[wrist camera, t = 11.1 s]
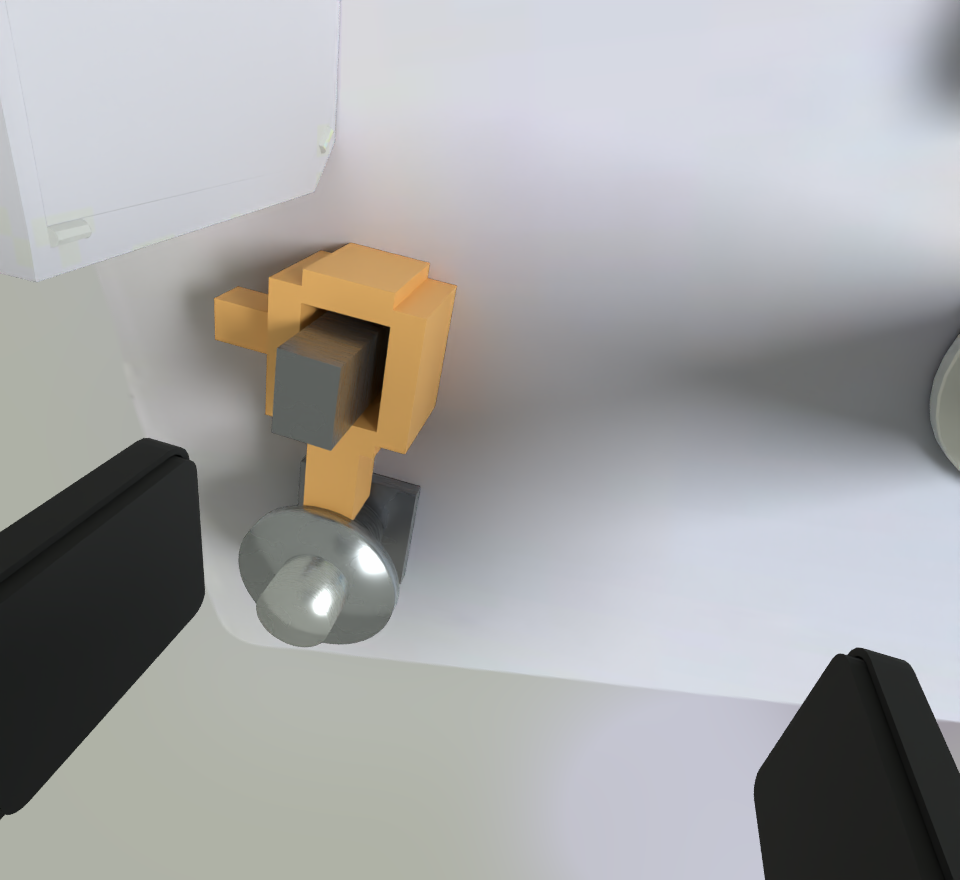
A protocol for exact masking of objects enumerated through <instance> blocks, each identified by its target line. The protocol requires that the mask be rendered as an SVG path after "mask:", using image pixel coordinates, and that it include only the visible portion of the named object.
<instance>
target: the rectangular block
mask: <svg viewBox="0 0 960 880" xmlns="http://www.w3.org/2000/svg"><path fill="white" fill-rule="evenodd" d="M389 334H390V327H389V326H385V325H381V324H378V323H374V322H370V321H366V320H363V319H359V318H355V317H352V316H348V315H344V314H340V313H337V312H333V311H327V312H326V313H325V314H323V315H322V316H320V317H319V318H318V319H316V320H315V321H314V322H312V323H311V324H309V325H308V326H307V327H305V328H304V329H302V330H301V331H300V332H298V333H297V334H296V335H294V336H293V337H291V338H290V339H289V340H287V341H286V342H285V343H283V344H282V345H280V346H279V347H278V348H277V353H276V368H275V384H274V399H273V415H272V430H271V432H272V433H275V434H279V435H282V436H285V437H288V438H291V439H294V440H298V441H301V442H304V443H307V444H310V445H314V446H317V447H320V448H323V449H326V450H329V451H331V450H332V449H333V448H334V446H335V445H336V444H337V443H338V442H339V441H340V439H341V438H342V437H343V436H344V435H345V433H346V432H347V431H348V430H349V429H350V427H351V426H352V425H353V424H354V423H355V421H356V420H357V419H358V418H359V417H360V415H361V414H362V413H363V412H364V411H365V410H366V408H367V407H368V406H369V405H370V404H371V402H372V401H373V400H374V399H375V398H376V396H377V395H378V394H379V393H380V392H381V390H382V388H383V380H384V373H385V365H386V357H387V350H388V342H389Z"/></svg>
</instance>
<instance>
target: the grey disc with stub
mask: <svg viewBox="0 0 960 880" xmlns="http://www.w3.org/2000/svg"><path fill="white" fill-rule="evenodd" d="M306 457H307V455H306V456H305V457H304V458H303V460H302V461H301V467H300V483H299V500H298V505H294V506H286V507H283V508H279V509H276V510H274V511H271V512H269V513H268V514H266V515H265V516H263V517H262V518H261V519H260V520H259V521H258V522H257V523H256V524H255V525H254V526H253V528H252V529H251V530H250V531H249V532H248V534H247V535H246V536H245V538H244V540H243V542H242V544H241V547H240V551H239V569H240V574H241V577H242V580H243V582H244V585H245V587H246V589H247V591H248V592H249V594H250V595H251V597H252V598H253V600H254V601H255V602H256V604H257V605H256V611H257V615H258V618H259V620H260V622H261V623H262V625H263V626H264V627H265V629H266V630H267V631H268V632H269V633H271V634H272V635H273V636H274V637H276V638H277V639H279V640H281V641H283V642H285V643H287V644H290V645H293V646H298V647H312V646H316V645H318V644H320V643H322V642H323V643H329V644H351V643H357V642H360V641H364V640H366V639H368V638H370V637H372V636H374V635H375V634H377V633H378V632H379V631H380V630H382V629H383V628H384V626H385V625H386V624H387V622H388V621H389V619H390V617H391V614H392V612H393V610H394V608H395V606H396V604H397V600H398V596H399V584H401V582H402V580H403V578H404V575H405V570H406V565H407V559H408V554H409V548H410V543H411V537H412V531H413V526H414V520H415V515H416V509H417V504H418V498H419V493H420V486H416V485H413V484H409V483H406V482H402V481H399V480H395V479H392V478H388V477H385V476H382V475H378V474H375V473H373V474H372V481H371V489H370V495H369V497H368V498H367V500H366V501H365V503H364V505H363V506H362V508H361V509H360V511H359V512H358V514H357V515H356V517H355V518H354V520H351V519H350V518H348V517H346V516H344V515H342V514H339V513H337V512H334V511H331V510H328V509H325V508H320V507H316V506H308V505H303V503H304V487H305V472H306Z"/></svg>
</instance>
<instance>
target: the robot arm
mask: <svg viewBox="0 0 960 880" xmlns="http://www.w3.org/2000/svg"><path fill="white" fill-rule="evenodd" d="M930 422H931V425H932V428H933V432H934V435H935V438H936V441H937V442H938V444H939V445H940V447H941V449H942V450H943V452H944V453H945V455H946V456H947V458H948V459H949V460H950V461H951V462H952V463H953V465H954V466H955V467H956V468H957V469H958V470H959V471H960V334H959V335H958V336H957V338H956V339H955V341H954V342H953V344H952V345H951V347H950V348H949V350H948V351H947V353H946V354H945V356H944V357H943V359H942V362H941V364H940V366H939V369H938V371H937V373H936V375H935V378H934V381H933V386H932V391H931V396H930ZM204 595H205V584H204V569H203V554H202V539H201V525H200V510H199V495H198V480H197V469H196V465H195V463H194V462H193V461H191V460H189V455H188V453H187V452H186V450H185V449H183V448H181V447H178V446H174V445H171V444H168V443H164V442H161V441H157V440H154V439H151V438H143V439H141V440H139V441H137V442H135V443H134V444H132V445H131V446H129V447H128V448H126V449H125V450H123V451H122V452H120V453H119V454H117V455H116V456H114V457H113V458H111V459H110V460H108V461H107V462H105V463H104V464H102V465H101V466H99V467H98V468H96V469H95V470H93V471H91V472H90V473H89V474H87V475H85V476H84V477H83V478H81V479H79V480H78V481H77V482H75V483H73V484H72V485H70V486H69V487H68V488H66V489H65V490H63V491H61V492H60V493H58V494H57V495H55V496H54V497H52V498H51V499H49V500H48V501H46V502H45V503H43V504H42V505H40V506H39V507H37V508H36V509H34V510H33V511H31V512H30V513H28V514H27V515H25V516H24V517H22V518H21V519H19V520H18V521H17V522H15V523H13V524H12V525H10V526H9V527H8V528H6V529H4V530H3V531H1V532H0V819H1V818H2V817H3V816H4V815H5V814H6V815H11V814H13V813H16V812H17V811H19V810H20V809H21V808H23V807H24V806H25V805H26V804H27V803H28V802H29V801H30V800H31V799H32V797H33V796H34V795H35V794H36V793H37V792H38V791H39V790H40V789H41V787H42V786H43V785H44V784H45V783H46V782H47V781H48V780H49V778H50V777H51V776H52V775H53V774H54V773H55V771H57V769H58V768H59V767H60V766H61V765H62V764H63V763H64V762H65V760H66V759H67V758H68V757H69V756H70V755H71V754H72V753H73V752H74V750H75V749H76V748H77V747H78V746H79V745H80V744H81V743H82V741H83V740H84V739H85V738H86V737H87V736H88V735H89V733H90V732H91V731H92V730H93V729H94V728H95V727H96V726H97V725H98V723H99V722H100V721H101V720H102V719H103V718H104V717H105V716H106V714H107V713H108V712H109V711H110V710H111V709H112V708H113V707H114V705H115V704H116V703H117V702H118V701H119V700H120V699H121V698H122V696H123V695H124V694H125V693H126V692H127V691H128V689H130V688H131V686H132V685H133V684H134V683H135V682H136V681H137V680H138V678H139V677H140V676H141V675H142V674H143V673H144V672H145V671H146V669H147V668H148V667H149V666H150V665H151V664H152V663H153V662H154V661H155V659H156V658H157V657H158V656H159V655H160V654H161V653H162V652H163V650H164V649H165V648H166V647H167V646H168V645H169V644H170V642H171V641H172V640H173V639H174V638H175V637H176V636H177V635H178V633H179V632H180V631H181V630H182V629H183V628H184V626H186V625H187V623H188V622H189V621H190V620H191V619H192V618H193V617H194V616H195V614H196V613H197V612H198V610H199V608H200V606H201V604H202V602H203V599H204ZM754 801H755V809H756V816H757V824H758V831H759V838H760V846H761V853H762V860H763V867H764V875H765V880H960V773H959V771H958V769H957V767H956V764H955V762H954V760H953V758H952V755H951V753H950V751H949V749H948V747H947V744H946V742H945V740H944V737H943V735H942V733H941V731H940V728H939V726H938V724H937V722H936V719H935V717H934V715H933V713H932V710H931V708H930V706H929V704H928V701H927V699H926V697H925V695H924V692H923V690H922V688H921V686H920V683H919V681H918V679H917V677H916V674H915V672H914V670H913V669H912V667H911V666H910V664H909V663H907V662H906V661H904V660H901V659H898V658H894V657H891V656H887V655H884V654H881V653H877V652H874V651H870V650H867V649H864V648H855V649H853V650H851V651H850V652H849V654H848V655H845V654H837V655H836V656H835V657H834V658H833V659H832V660H831V662H830V663H829V665H828V666H827V668H826V669H825V671H824V672H823V674H822V675H821V677H820V678H819V680H818V681H817V683H816V684H815V686H814V687H813V689H812V690H811V692H810V693H809V695H808V697H807V698H806V700H805V701H804V703H803V704H802V706H801V707H800V709H799V710H798V712H797V713H796V715H795V716H794V718H793V719H792V721H791V722H790V724H789V725H788V727H787V728H786V730H785V731H784V733H783V735H782V736H781V737H780V739H779V740H778V742H777V743H776V745H775V747H774V748H773V750H772V751H771V753H770V754H769V756H768V757H767V759H766V760H765V762H764V763H763V765H762V766H761V768H760V769H759V771H758V773H757V776H756V780H755V785H754Z"/></svg>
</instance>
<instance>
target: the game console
mask: <svg viewBox="0 0 960 880" xmlns="http://www.w3.org/2000/svg"><path fill="white" fill-rule="evenodd" d="M339 15H340V0H0V274H5V275H9V276H13V277H17V278H21V279H25V280H29V281H33V282H39V281H42V280H45V279H48V278H51V277H54V276H57V275H60V274H63V273H66V272H69V271H72V270H76V269H79V268H82V267H85V266H88V265H91V264H94V263H97V262H100V261H103V260H107V259H110V258H113V257H116V256H119V255H122V254H125V253H128V252H131V251H134V250H137V249H140V248H144V247H147V246H150V245H153V244H156V243H159V242H162V241H165V240H168V239H171V238H174V237H177V236H181V235H184V234H187V233H190V232H193V231H196V230H199V229H202V228H205V227H208V226H211V225H214V224H217V223H221V222H224V221H227V220H230V219H233V218H236V217H239V216H242V215H245V214H248V213H251V212H254V211H258V210H261V209H264V208H267V207H270V206H273V205H276V204H279V203H282V202H285V201H288V200H291V199H295V198H298V197H301V196H304V195H307V194H310V193H313V192H315V189H316V187H317V184H318V182H319V179H320V177H321V175H322V172H323V170H324V167H325V165H326V163H327V160H328V158H329V155H330V153H331V151H332V148H333V146H334V143H335V126H336V98H337V71H338V43H339Z"/></svg>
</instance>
